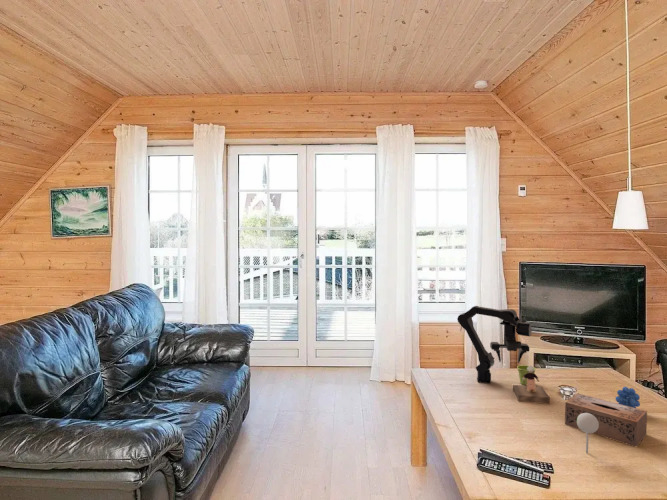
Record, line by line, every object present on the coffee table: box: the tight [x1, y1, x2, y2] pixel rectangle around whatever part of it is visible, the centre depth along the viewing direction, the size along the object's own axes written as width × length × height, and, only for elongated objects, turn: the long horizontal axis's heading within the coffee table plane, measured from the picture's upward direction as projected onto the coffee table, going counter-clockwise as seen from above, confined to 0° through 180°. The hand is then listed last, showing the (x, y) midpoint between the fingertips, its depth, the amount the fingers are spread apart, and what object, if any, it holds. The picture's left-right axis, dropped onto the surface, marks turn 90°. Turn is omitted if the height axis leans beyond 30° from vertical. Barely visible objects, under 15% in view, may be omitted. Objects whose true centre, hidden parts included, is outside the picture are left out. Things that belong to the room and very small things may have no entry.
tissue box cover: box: [564, 393, 648, 447], centre depth 179 cm, size 26×14×10 cm, turn 41°
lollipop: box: [577, 413, 599, 454], centre depth 160 cm, size 7×7×15 cm
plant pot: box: [516, 364, 537, 386], centre depth 232 cm, size 9×9×9 cm
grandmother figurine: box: [522, 365, 540, 392], centre depth 213 cm, size 8×4×13 cm, turn 92°
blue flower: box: [615, 386, 641, 409], centre depth 194 cm, size 12×7×12 cm, turn 96°
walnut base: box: [512, 384, 551, 404], centre depth 214 cm, size 14×14×3 cm
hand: (509, 362), depth 228 cm, fingers open, 9 cm apart
